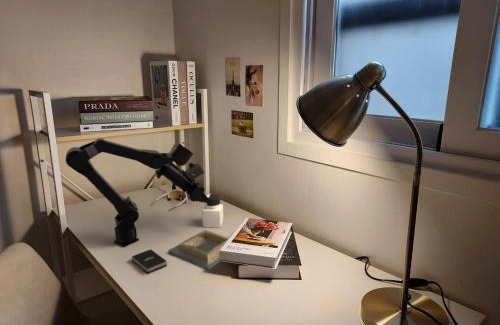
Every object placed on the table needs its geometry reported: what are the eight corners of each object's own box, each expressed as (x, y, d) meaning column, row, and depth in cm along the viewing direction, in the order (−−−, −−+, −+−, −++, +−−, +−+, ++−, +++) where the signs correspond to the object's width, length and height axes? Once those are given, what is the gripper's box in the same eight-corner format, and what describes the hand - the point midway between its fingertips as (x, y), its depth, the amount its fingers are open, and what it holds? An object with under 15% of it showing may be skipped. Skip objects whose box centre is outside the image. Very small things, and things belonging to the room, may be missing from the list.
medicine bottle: (223, 220, 143) (222, 192, 140) (220, 228, 136) (219, 198, 133) (206, 219, 144) (205, 192, 141) (202, 227, 137) (201, 198, 134)
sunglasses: (194, 202, 164) (192, 192, 163) (170, 217, 153) (168, 207, 151) (172, 196, 172) (171, 187, 170) (149, 210, 161) (147, 200, 159)
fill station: (208, 269, 108) (207, 260, 107) (168, 253, 118) (167, 244, 117) (243, 246, 122) (243, 238, 121) (205, 233, 132) (204, 225, 131)
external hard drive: (151, 254, 118) (150, 249, 118) (168, 267, 110) (167, 261, 110) (131, 261, 114) (131, 256, 113) (147, 275, 106) (147, 269, 105)
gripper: (197, 164, 122) (228, 189, 129) (183, 153, 138) (211, 176, 145) (176, 189, 120) (208, 213, 128) (164, 175, 137) (194, 197, 144)
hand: (206, 198), depth 136 cm, fingers open, 9 cm apart
